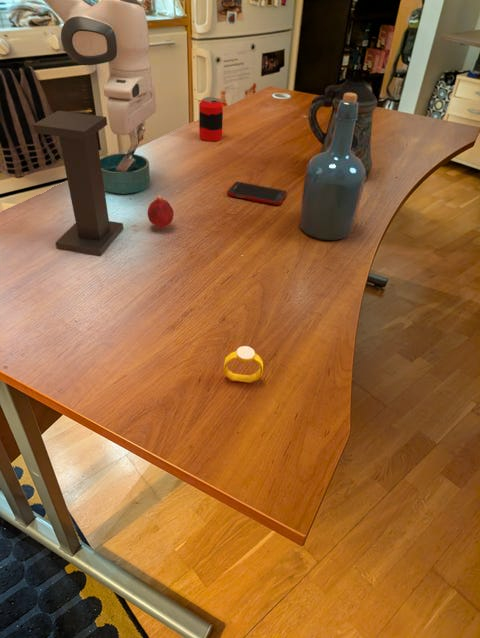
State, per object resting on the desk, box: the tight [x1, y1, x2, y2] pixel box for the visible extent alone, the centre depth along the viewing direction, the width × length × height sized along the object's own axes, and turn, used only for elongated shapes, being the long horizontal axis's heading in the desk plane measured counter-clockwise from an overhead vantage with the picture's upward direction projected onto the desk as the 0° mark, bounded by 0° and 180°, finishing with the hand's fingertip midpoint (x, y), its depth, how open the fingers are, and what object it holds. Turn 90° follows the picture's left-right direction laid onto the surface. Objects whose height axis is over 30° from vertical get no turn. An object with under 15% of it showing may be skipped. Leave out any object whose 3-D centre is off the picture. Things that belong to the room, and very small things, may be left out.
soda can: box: [198, 96, 224, 143], centre depth 150 cm, size 8×8×12 cm
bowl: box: [100, 152, 151, 195], centre depth 121 cm, size 13×13×6 cm
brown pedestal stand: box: [32, 110, 124, 257], centre depth 93 cm, size 10×12×25 cm
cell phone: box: [226, 181, 288, 206], centre depth 122 cm, size 8×15×1 cm, turn 71°
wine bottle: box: [298, 93, 367, 241], centre depth 101 cm, size 14×13×30 cm
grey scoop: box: [115, 126, 146, 172], centre depth 117 cm, size 16×7×2 cm
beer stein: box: [307, 77, 378, 178], centre depth 129 cm, size 16×19×25 cm
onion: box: [146, 194, 175, 229], centre depth 104 cm, size 6×6×8 cm
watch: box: [222, 345, 264, 384], centre depth 70 cm, size 6×3×6 cm, turn 87°
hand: (137, 141), depth 114 cm, fingers closed on grey scoop, 1 cm apart
